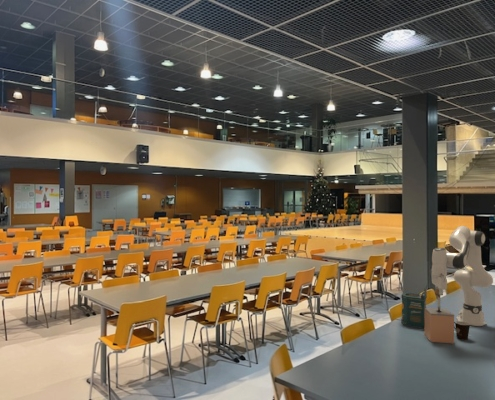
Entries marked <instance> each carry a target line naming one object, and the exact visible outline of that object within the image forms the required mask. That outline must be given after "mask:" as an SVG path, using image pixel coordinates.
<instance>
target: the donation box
mask: <svg viewBox="0 0 495 400" xmlns="http://www.w3.org/2000/svg"><path fill="white" fill-rule="evenodd" d="M427 290H428V289H427V284H426V285H425V287H424V290H423V292H422V293H417V292H416V293H415V292H402V294H401V296H400V297H401V320H400V323H401V324H403V325H405V326H408V327H415V328H421V329H425V308H427V297H428V296H427V295H428V293H427V292H428V291H427Z"/></svg>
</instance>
